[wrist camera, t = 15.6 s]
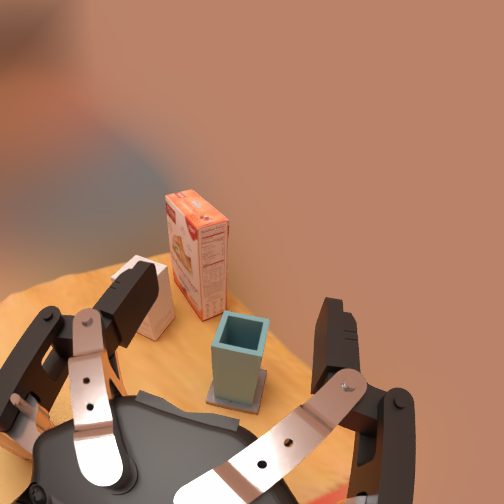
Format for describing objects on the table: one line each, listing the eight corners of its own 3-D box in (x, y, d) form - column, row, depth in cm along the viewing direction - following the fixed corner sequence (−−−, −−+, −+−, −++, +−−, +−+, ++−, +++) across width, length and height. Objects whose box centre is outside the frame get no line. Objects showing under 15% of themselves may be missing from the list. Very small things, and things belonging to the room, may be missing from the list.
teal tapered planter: (251, 405, 37) (262, 356, 29) (214, 396, 37) (211, 345, 29) (258, 374, 42) (269, 319, 34) (223, 367, 42) (224, 310, 34)
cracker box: (172, 281, 60) (163, 193, 48) (196, 273, 63) (193, 187, 51) (200, 323, 51) (195, 227, 39) (227, 312, 54) (231, 217, 42)
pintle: (257, 414, 36) (263, 393, 32) (206, 403, 37) (202, 380, 33) (266, 373, 43) (272, 346, 38) (219, 363, 44) (219, 335, 39)
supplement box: (176, 316, 52) (169, 265, 44) (155, 342, 46) (142, 292, 39) (147, 303, 53) (136, 253, 46) (125, 326, 48) (109, 276, 40)
